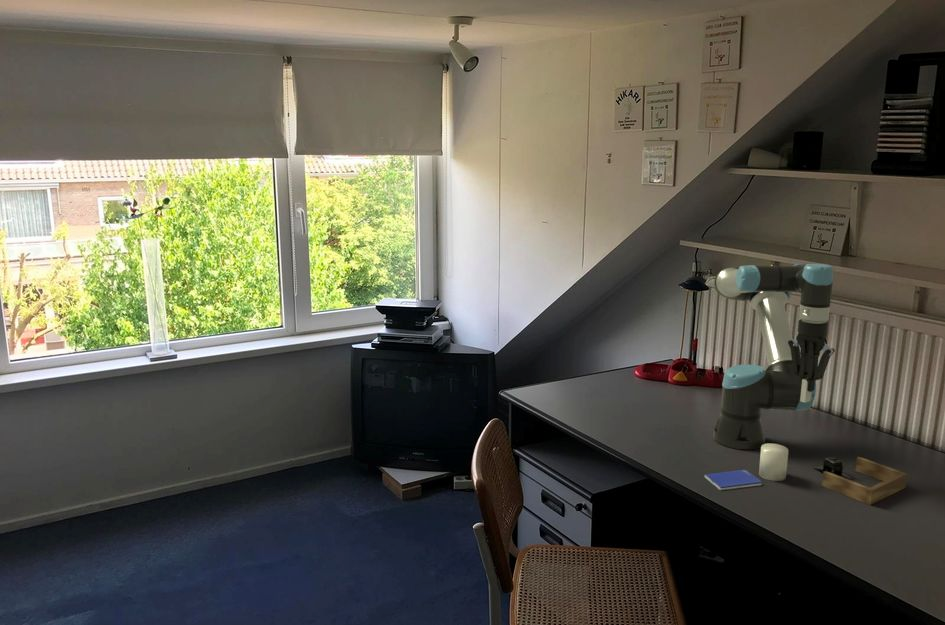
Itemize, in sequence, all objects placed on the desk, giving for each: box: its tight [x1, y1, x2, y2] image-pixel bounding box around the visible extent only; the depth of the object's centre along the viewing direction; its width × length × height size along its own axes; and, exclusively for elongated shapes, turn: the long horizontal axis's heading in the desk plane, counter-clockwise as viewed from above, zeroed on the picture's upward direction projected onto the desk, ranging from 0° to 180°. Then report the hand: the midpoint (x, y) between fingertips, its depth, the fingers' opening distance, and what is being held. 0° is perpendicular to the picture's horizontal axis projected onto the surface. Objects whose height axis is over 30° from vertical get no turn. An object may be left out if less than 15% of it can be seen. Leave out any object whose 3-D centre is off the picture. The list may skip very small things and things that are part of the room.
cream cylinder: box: [758, 443, 789, 482], centre depth 208 cm, size 7×7×8 cm
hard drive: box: [704, 469, 763, 491], centre depth 205 cm, size 2×8×12 cm
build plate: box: [812, 456, 854, 481], centre depth 209 cm, size 12×7×5 cm, turn 17°
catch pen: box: [821, 456, 908, 506], centre depth 201 cm, size 13×17×4 cm
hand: (805, 400), depth 212 cm, fingers closed
